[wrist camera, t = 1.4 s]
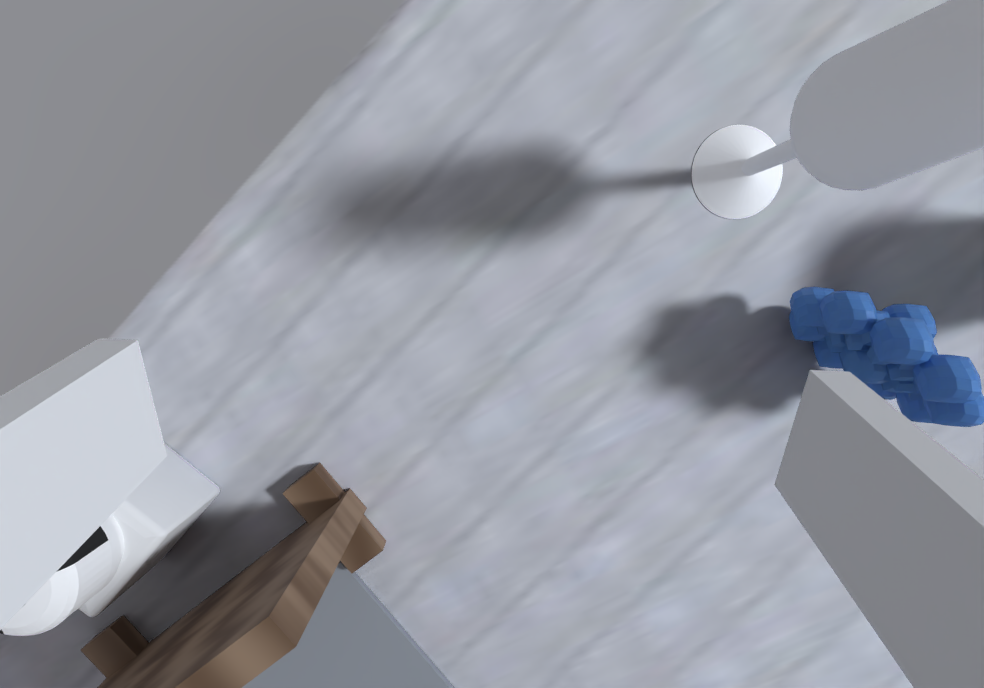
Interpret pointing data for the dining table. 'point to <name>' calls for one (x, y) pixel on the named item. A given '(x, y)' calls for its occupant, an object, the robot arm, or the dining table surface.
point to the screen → (248, 602)
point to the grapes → (889, 354)
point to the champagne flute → (863, 115)
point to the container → (120, 547)
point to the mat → (352, 646)
